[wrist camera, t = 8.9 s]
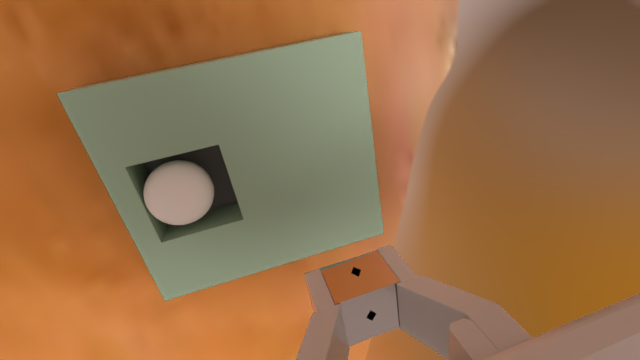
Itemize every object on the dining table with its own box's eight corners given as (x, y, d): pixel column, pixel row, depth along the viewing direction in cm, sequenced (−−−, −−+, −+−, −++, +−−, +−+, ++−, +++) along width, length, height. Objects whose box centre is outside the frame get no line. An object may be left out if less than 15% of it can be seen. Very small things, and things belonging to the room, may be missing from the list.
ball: (116, 180, 18) (181, 176, 17) (159, 152, 21) (215, 148, 20) (143, 238, 19) (203, 238, 19) (179, 204, 23) (231, 202, 22)
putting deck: (81, 86, 19) (56, 93, 16) (344, 32, 21) (361, 30, 18) (172, 272, 24) (164, 301, 22) (368, 214, 27) (383, 233, 24)
